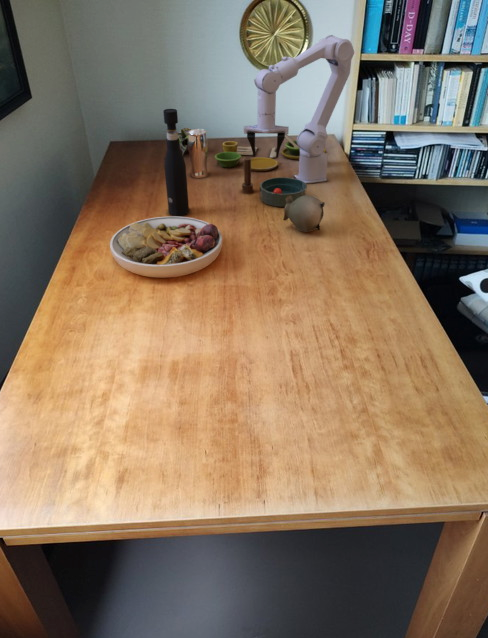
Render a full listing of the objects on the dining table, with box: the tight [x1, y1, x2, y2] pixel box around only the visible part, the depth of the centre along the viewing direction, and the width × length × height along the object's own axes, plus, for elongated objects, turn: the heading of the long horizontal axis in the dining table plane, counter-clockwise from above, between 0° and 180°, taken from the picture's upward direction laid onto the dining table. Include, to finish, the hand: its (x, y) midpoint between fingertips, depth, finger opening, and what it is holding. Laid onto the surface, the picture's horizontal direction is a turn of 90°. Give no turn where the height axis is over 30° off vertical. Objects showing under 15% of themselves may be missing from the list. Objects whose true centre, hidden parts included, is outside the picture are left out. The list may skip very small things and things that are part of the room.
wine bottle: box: [163, 108, 190, 217], centre depth 164 cm, size 6×6×30 cm
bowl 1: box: [109, 215, 223, 279], centre depth 149 cm, size 30×30×8 cm
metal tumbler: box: [187, 128, 209, 179], centre depth 195 cm, size 7×7×15 cm
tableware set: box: [214, 134, 327, 172], centre depth 209 cm, size 41×28×6 cm
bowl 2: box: [259, 176, 308, 208], centre depth 181 cm, size 15×15×4 cm
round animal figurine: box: [282, 194, 326, 233], centre depth 161 cm, size 10×12×10 cm
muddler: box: [241, 157, 254, 195], centre depth 183 cm, size 4×4×11 cm
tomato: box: [273, 188, 282, 194], centre depth 181 cm, size 3×3×3 cm
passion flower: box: [177, 127, 193, 156], centre depth 215 cm, size 11×11×12 cm
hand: (265, 156), depth 184 cm, fingers open, 7 cm apart
